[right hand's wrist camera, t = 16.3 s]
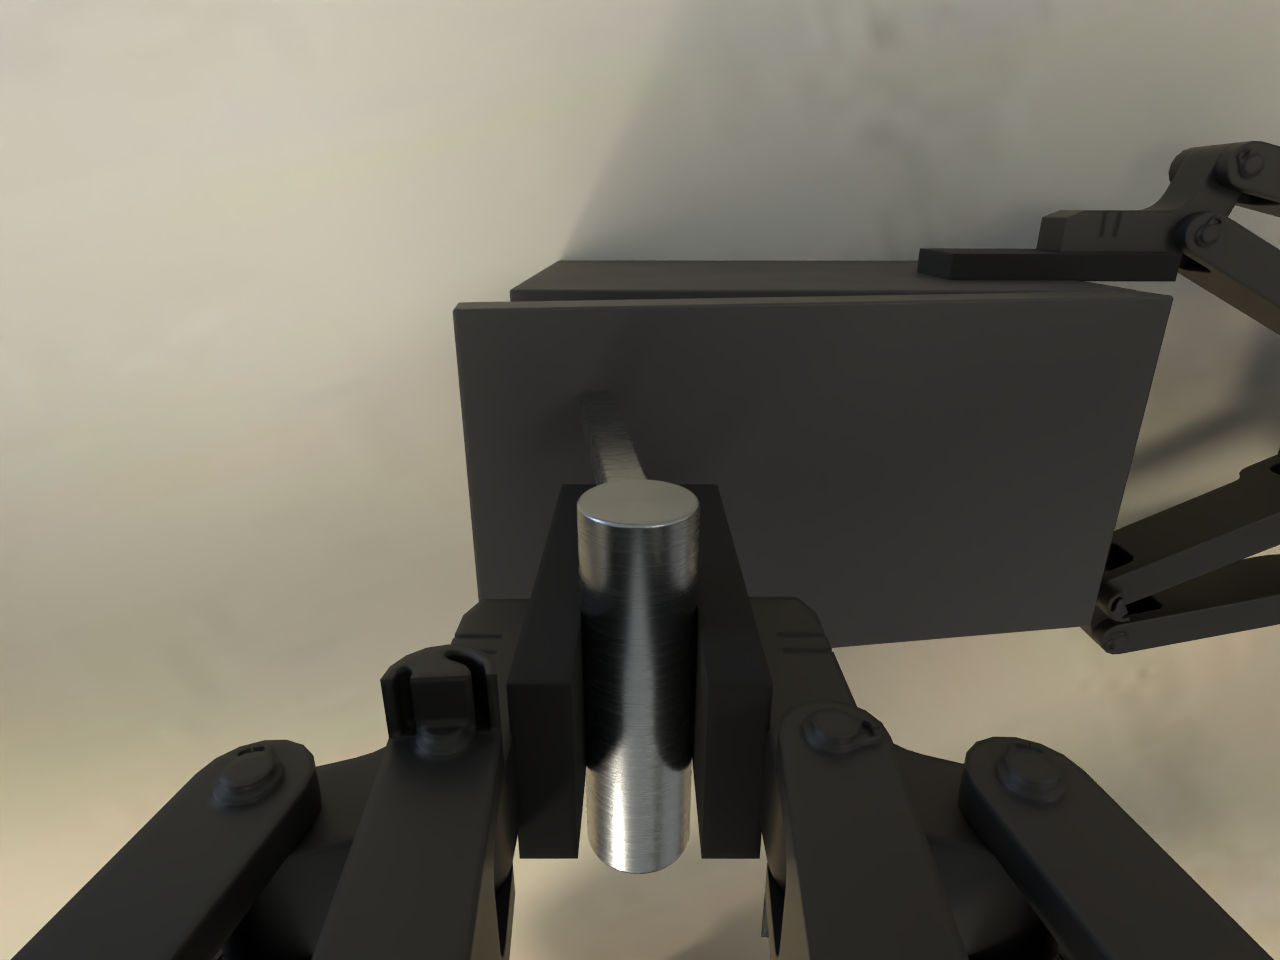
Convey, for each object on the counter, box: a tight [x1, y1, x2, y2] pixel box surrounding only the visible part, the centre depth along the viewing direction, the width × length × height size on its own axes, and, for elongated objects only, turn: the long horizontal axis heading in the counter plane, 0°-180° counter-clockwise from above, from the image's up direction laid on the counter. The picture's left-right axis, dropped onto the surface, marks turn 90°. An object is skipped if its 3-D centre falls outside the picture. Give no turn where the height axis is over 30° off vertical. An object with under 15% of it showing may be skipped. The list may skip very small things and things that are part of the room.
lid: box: [453, 291, 1173, 874], centre depth 15 cm, size 17×9×9 cm, turn 90°
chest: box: [510, 261, 1136, 302], centre depth 25 cm, size 16×9×11 cm, turn 90°
